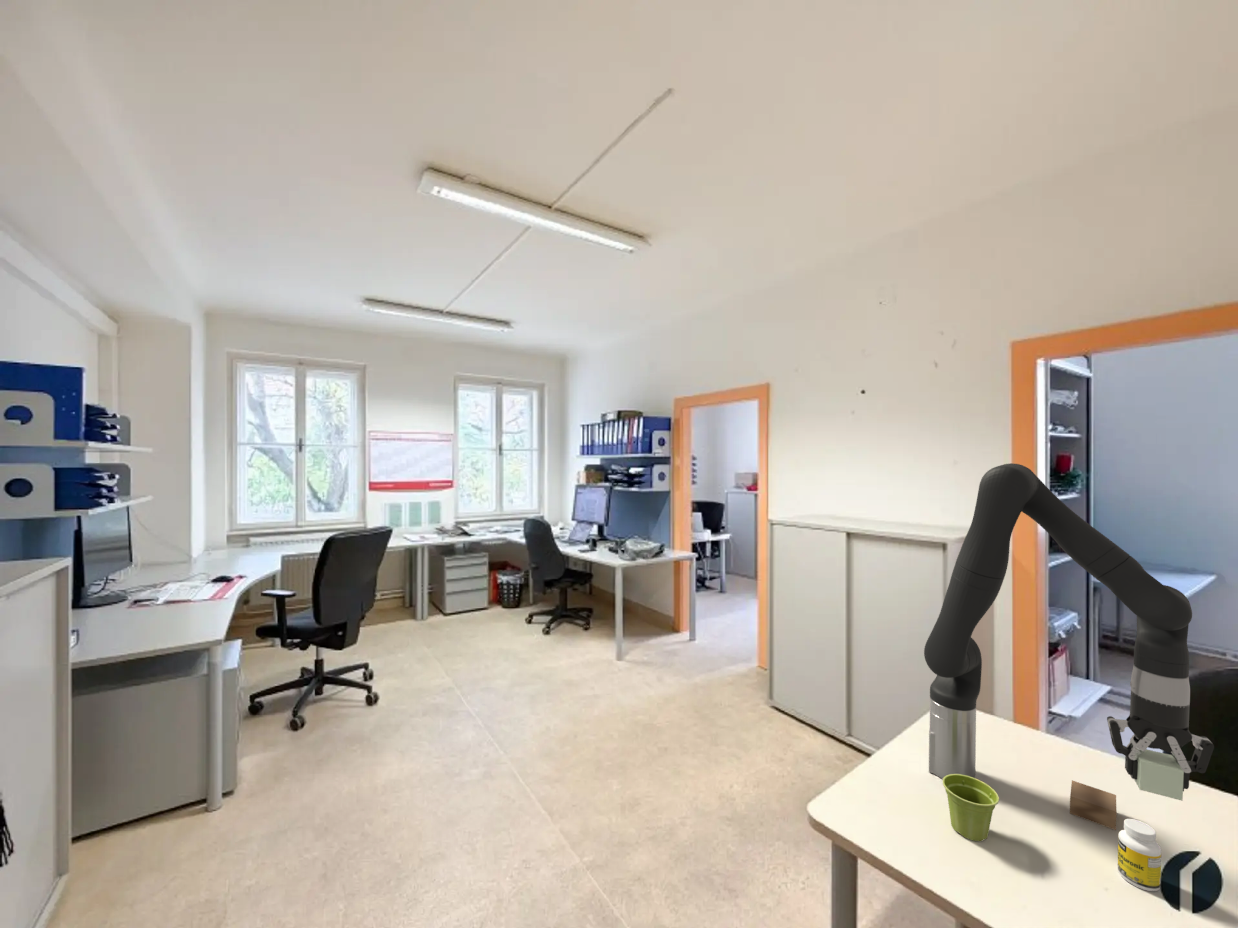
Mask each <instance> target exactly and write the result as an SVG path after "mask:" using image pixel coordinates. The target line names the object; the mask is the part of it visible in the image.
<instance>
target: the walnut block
mask: <svg viewBox="0 0 1238 928" xmlns="http://www.w3.org/2000/svg"><path fill="white" fill-rule="evenodd" d="M1069 797H1070V798H1069V814H1070V815H1073V816H1076V817H1078V818H1082V819H1084V820H1087V821H1090V822H1092V823H1095V824H1097V825H1101V826H1102V827H1106V828H1108V829H1111V830H1114V831H1117V794H1114V793H1111V792H1108V791H1105V790H1102V789H1100V788H1096V787H1093V786H1090V785H1087V784H1084V783H1081V782H1080V781H1079V782H1077V781H1076V780H1071V786H1070V795H1069Z"/></svg>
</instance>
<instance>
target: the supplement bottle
mask: <svg viewBox="0 0 1238 928" xmlns="http://www.w3.org/2000/svg"><path fill="white" fill-rule="evenodd" d="M1117 838H1118V839H1117V871H1118V873H1119V875H1120V876H1121V877H1122V878H1123V879H1124V880H1125V881H1126V882H1128V883H1129V884H1131V885H1132V886H1134V887H1136V888H1138V889H1140V890H1143V891H1148V892H1158V891H1159V890H1160V889H1161V885H1162V848H1161V846H1160V845H1159V843H1158V842H1157V832H1156V830H1155V829H1154V828H1153V827H1152V826H1151V825H1149V824H1147V823H1146V822H1143V821H1140V820H1138V819H1135V818H1126V819H1124V820H1123V829H1121V830H1120V831H1119V832H1118V835H1117Z"/></svg>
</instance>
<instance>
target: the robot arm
mask: <svg viewBox="0 0 1238 928" xmlns="http://www.w3.org/2000/svg"><path fill="white" fill-rule="evenodd" d="M974 507H975V508H974V511H973V517H972V520H971V523H970V526H969V529H968V531H967V532H966V535H965V538H964V540H963V543H962V545H961V547H960V551H959V552H958V555H957V557H956V559H955V562H954V563H955V564H954V567H953V570H952V573H951V576H950V580H949V583H948V587H947V589H946V593H945V595H944V598H943V602H942V605H941V609H940V612H939V614H938V617H937V619H936V622H935V624H934V626H933V628H932V630H931V631H930V634H929V636H928V637H927V640H926V642H925V645H924V648H923V649H924V650H923V656H924V660H925V663H926V665H927V667H928V668H929V670H930V671H931V672H932V673H934V674H935V675H936V677H935V678H934V680H933V681H932V682H931V684H930V688H929V730H928V732H929V733H928V772H929V773H931V774H934V775H935V776H937V777H939V778H940V779H942V780H943V778H944V777H945V776H946V775H950V774H961V775H966V776H970V777H973V778H975V779H976V753H977V752H976V751H977V750H976V745H977V743H976V742H977V739H976V737H977V734H976V733H977V699H978V697H979V695H980V693H981V684H982V666H983V665H982V664H983V660H982V652H981V650H980V646H979V645H978V643H977V642H976V641H975V639H974V638H973V637H972V635H973V633H974V631H975V628H976V627H977V625H978V623H980V621H981V620H982V619H983V618H984V616H985V615H986V614H987V612H988V611H989V609H990V608H991V607H992V605H993V604H994V602H995V600H997V596H998V595H999V593H1000V590H1001V588H1002V586H1003V583H1004V580H1005V576H1006V574H1007V570H1008V566H1009V557H1010V545H1011V543H1010V542H1011V537H1012V534H1013V531H1014V528H1015V526H1016V523H1017V522H1018V519H1019V517H1020V515H1021V513H1022V514H1023V513H1024V515H1026V516H1028V518H1030V519H1032V520H1033V521H1034V522H1036V523H1037V524H1038V525H1039V526H1040V527H1041V528H1042V529H1044V530H1045V531H1046V533H1048V535H1050V537H1051V538H1052V539H1053V541H1054V542H1056V544H1057V545H1058V546H1059V547H1060V548H1061V549H1062V550H1063V551H1064V552H1065V554H1067V555H1068V557H1070V559H1071V560H1073V561H1074V562H1075V563H1076V564H1078V566H1080V567H1082V569H1084V570H1085V572H1087V573H1088V574H1090V575H1091V576H1092V577H1093V578H1095V579H1096V580H1097V581H1098V582H1099V583H1101V584H1103V585H1104V586H1105V587H1106V588H1107V589H1109V590H1110V591H1111V592H1112V593H1113V595H1115V597H1116V598H1118V600H1120V602H1122V603H1123V604H1124V605H1125V607H1127V609H1129V611H1131V612H1132V613H1133V614H1134V615H1135V616H1136V639H1135V643H1134V648H1133V649H1134V650H1133V668H1132V671H1131V676H1130V677H1131V679H1130V683H1129V684H1130V685H1129V687H1130V701H1129V702H1130V704H1129V715H1128V716H1127V718H1126V719H1118V718H1115V717H1113V716H1112V715H1110V716H1107V717H1106V721H1107V726H1108V729H1109V734H1110V739H1111V744H1112V747H1113V748H1114V750H1115V751H1116V752H1117V753H1118V754H1121V755H1123V756H1124V757H1125V759H1124V769H1125V771H1126V772H1127V775H1129V776H1130V777H1131V779H1132V780H1134V779H1136V780H1137V773H1138V761H1137V758H1138V756H1140V754H1141V753H1142V752H1144V751H1145V750H1146V749H1147V748H1149V749H1153V750H1155V749H1156V750H1160V751H1163V752H1167V753H1171V755H1172V756H1173V757H1174V758H1175V760H1176V761H1177V762H1178V764H1179V765H1180V767H1181V768H1182V769H1183V771H1184V777H1183V793H1184V792H1185V790H1188V789H1189V788H1190V774H1191V773H1194V772H1195V773H1200V774H1206V772H1207V769H1208V766H1209V764H1210V761H1211V758H1212V756H1213V751H1214V750H1215V745H1214V744H1213V742H1212V741H1211V740H1210V739H1209V738H1208V737H1207V736H1204V735H1200V736H1199V735H1195V734H1193V733H1191V732H1190V730H1189V726H1190V725H1189V724H1190V722H1189V721H1190V703H1191V686H1190V685H1191V684H1190V679H1189V678H1190V676H1189V674H1190V652H1189V648H1188V633H1189V627H1190V626H1189V624H1190V622H1191V621H1192V620H1193V619H1192V618H1193V609H1192V607H1191V603H1190V601H1189V599H1188V597H1187V595H1185V594H1184V593H1183V592H1181V591H1180V590H1178V589H1177V588H1175V587H1173V586H1169V585H1165V584H1163V583H1161V582H1160V581H1158V579H1156V578H1155V577H1154V576H1152V575H1151V574H1150V573H1149V572H1148V571H1146V570H1145V569H1144V567H1143V566H1142V565H1141V563H1140V562H1138V561H1137V560H1136V559H1135V558H1134V557H1133V556H1132V555H1130V554H1129V553H1128V552H1126V550H1124V549H1122V548H1121V547H1120V546H1119V545H1117V544H1116V543H1115V542H1114V541H1112V539H1110V538H1108V537H1107V536H1105V535H1104V534H1103V533H1102V532H1100V531H1099V530H1097V529H1096V528H1095V527H1093V525H1091V524H1090V523H1088V522H1087V521H1086V520H1084V519H1083V518H1082V517H1080V516H1079V515H1078V514H1077V513H1075V512H1074V511H1073V510H1072V509H1071V508H1070V507H1068V506H1067V505H1066V504H1065V503H1064V502H1063V501H1062V500H1060V498H1058V496H1056V495H1055V493H1053V492H1052V490H1050V488H1048V486H1047V485H1045V483H1044V482H1042V480H1041V479H1040V478H1039V477H1038V476H1037V475H1036V474H1035V472H1033V471H1032V470H1031V469H1030V468H1029V467H1027V466H1025V465H1022V464H1020V463H1004V464H1001V465H997V466H994V467H992V468H991V469H989V470H987V471H986V472H985V473H984V474H983V476H982V477H981V480H980V482H979V485H978V490H977V498H976V502H975V506H974ZM1126 728H1129V729H1130V731H1131V732H1132V733H1133V735H1132V736H1131V738H1130V740H1129V742H1128V744H1127V745H1124V743H1123V739H1122V734H1121V733H1124V732H1125V729H1126ZM1191 741H1192V745H1193V746H1194V747H1195V748H1194V751H1193V754H1192V757H1191V760H1187V758H1186V756H1185V755H1184V752H1183V751H1182V749H1181V748H1182V747H1184V746H1186V745H1187V744H1188V743H1190V742H1191ZM1147 750H1148V749H1147Z"/></svg>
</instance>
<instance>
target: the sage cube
mask: <svg viewBox="0 0 1238 928" xmlns="http://www.w3.org/2000/svg"><path fill="white" fill-rule="evenodd" d="M1137 761H1138V773H1137V780H1136V779H1133V780H1134V782H1135V783H1136V785H1137V787H1138V789H1139V790H1140V791H1143V792H1147V793H1152V794H1155V795H1159V796H1162V797H1165V798H1166V797H1167V798H1170V799H1174V800H1178V801H1183V796H1184V795H1183V794H1184V792H1183V777H1184V771H1183V769H1182V768H1181V767H1180V765H1179V764H1178V762H1177V761H1176V760H1175V758H1174V756H1173V754H1169V753H1163V752H1161V751H1155V750H1151V749H1146V750H1145V751H1144V752H1142V753H1141V754H1140V756H1138V758H1137Z"/></svg>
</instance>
